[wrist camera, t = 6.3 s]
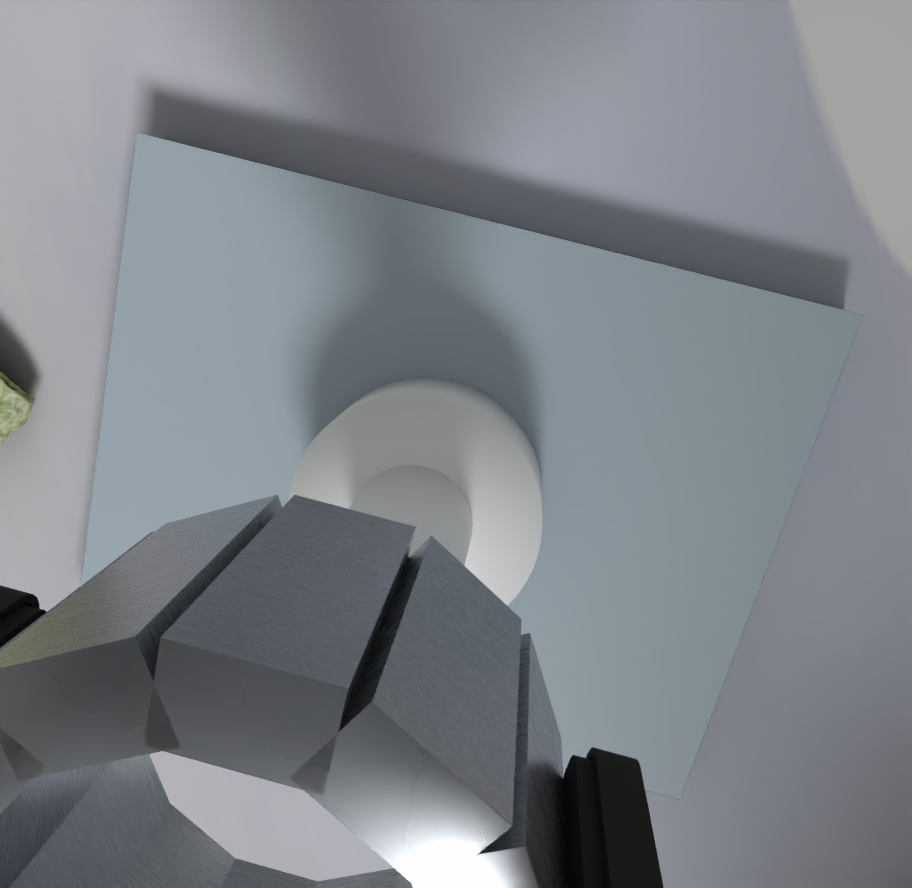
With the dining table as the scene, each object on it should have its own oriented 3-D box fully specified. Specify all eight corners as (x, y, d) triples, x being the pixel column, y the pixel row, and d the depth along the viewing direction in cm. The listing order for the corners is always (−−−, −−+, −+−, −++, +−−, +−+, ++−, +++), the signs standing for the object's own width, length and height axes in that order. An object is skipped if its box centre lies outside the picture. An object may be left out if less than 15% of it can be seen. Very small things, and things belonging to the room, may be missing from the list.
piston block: (844, 310, 20) (1112, 373, 11) (672, 772, 24) (758, 1119, 14) (159, 138, 21) (-157, 55, 11) (97, 613, 24) (-180, 846, 15)
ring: (617, 580, 9) (662, 773, 6) (484, 989, 11) (461, 1318, 8) (98, 442, 10) (-142, 554, 6) (47, 864, 11) (-161, 1130, 8)
